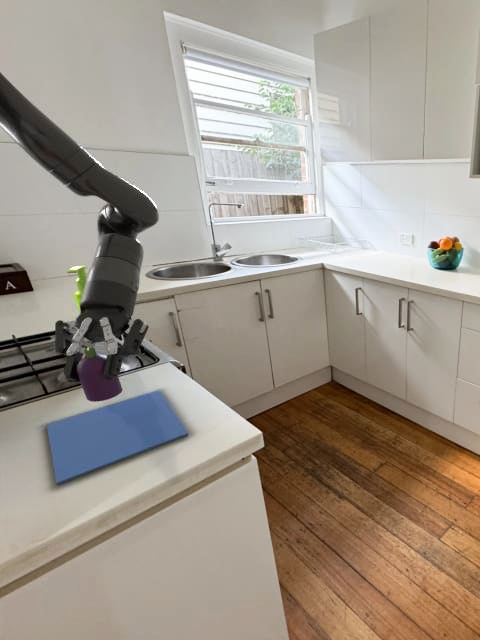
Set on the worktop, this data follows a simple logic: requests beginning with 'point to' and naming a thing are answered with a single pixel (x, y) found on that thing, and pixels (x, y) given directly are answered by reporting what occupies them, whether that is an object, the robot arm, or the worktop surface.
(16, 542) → the worktop surface
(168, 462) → the worktop surface
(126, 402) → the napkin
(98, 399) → the eggplant
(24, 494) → the worktop surface
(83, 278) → the soap dispenser
